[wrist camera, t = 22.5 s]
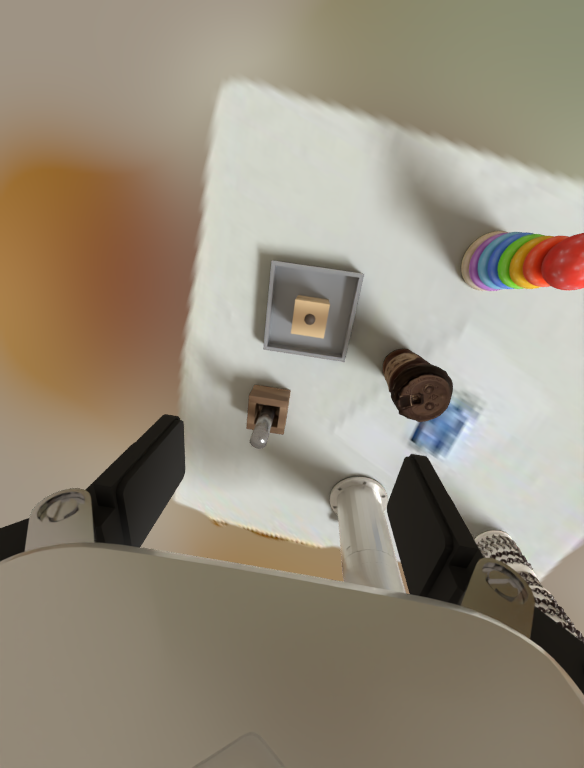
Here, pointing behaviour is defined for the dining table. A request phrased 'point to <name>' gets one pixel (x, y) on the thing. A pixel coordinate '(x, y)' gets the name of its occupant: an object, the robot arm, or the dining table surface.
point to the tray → (312, 283)
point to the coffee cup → (417, 385)
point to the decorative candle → (523, 574)
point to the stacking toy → (524, 261)
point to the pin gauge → (263, 426)
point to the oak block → (310, 316)
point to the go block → (268, 397)
